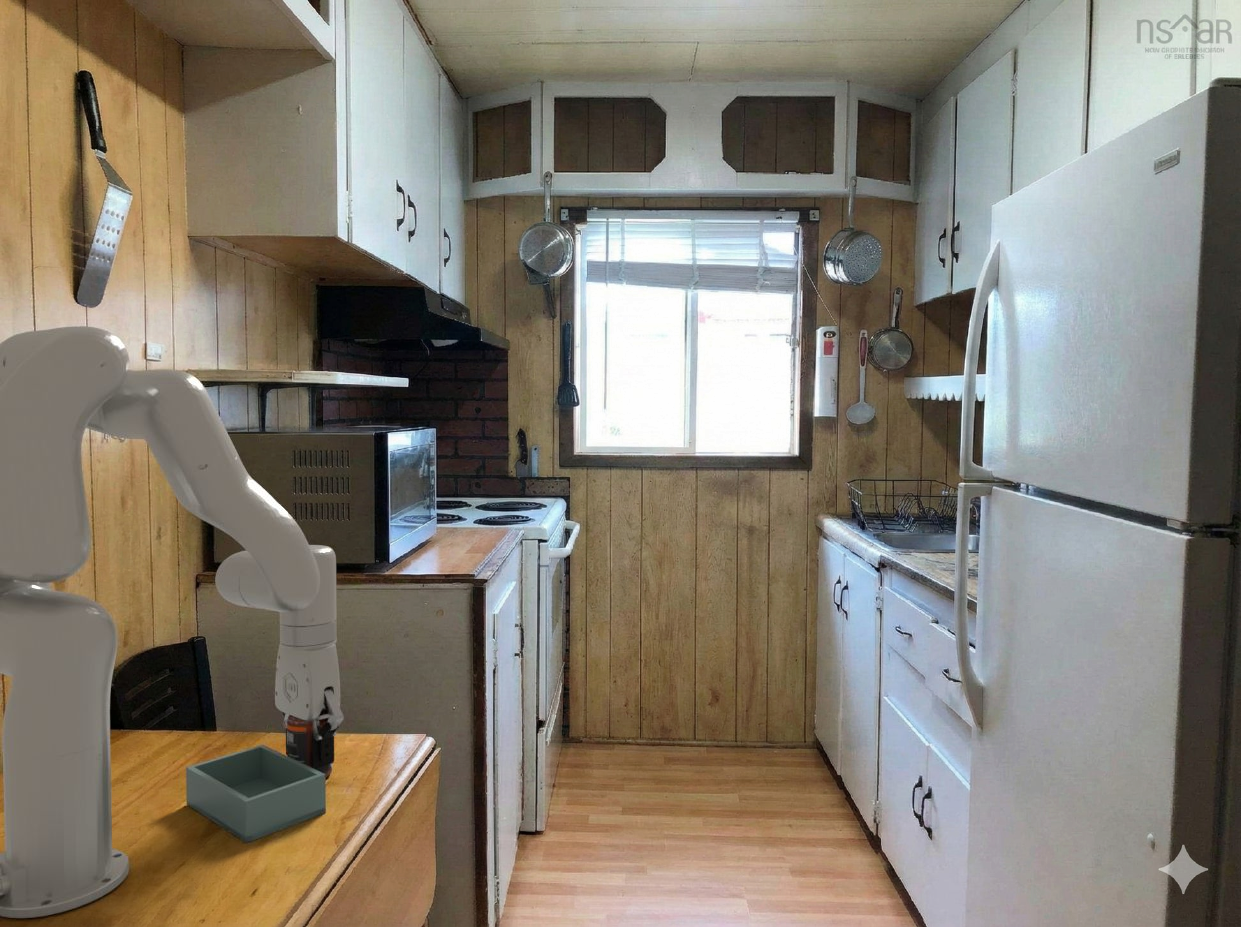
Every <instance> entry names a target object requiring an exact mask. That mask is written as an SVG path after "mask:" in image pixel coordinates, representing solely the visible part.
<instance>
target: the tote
mask: <svg viewBox="0 0 1241 927" xmlns="http://www.w3.org/2000/svg"><path fill="white" fill-rule="evenodd" d="M185 775H186V776H185V777H186V778H185V779H186V781H185V782H186V786H185V787H186V790H185V791H186V806H188V807H189V806H190V809H192V808H193V809H192V810H193V811H195V810H196V811H195V812H199V813H198V814H201V815H202V816H203V817H205V818H206V817H207V819H208V820H209V819H210V821H211V822H212V823H214V824H215V825H217V826H219V827H221V828H222V829H224V830H225V831H227V832H228V833H230V834H231V835H233V836H235V837H236V838H237V839H239V840H240V841H242V842H244V843H246V844H249V843H251V842H253V841H255V840H258V839H261V838H265V837H267V836H269V835H272V834H274V833H276V832H279V831H282V830H285V829H288V828H289V827H292V826H295V825H298V824H301V823H303V822H305V821H308V820H311V819H314V818H316V817H319V816H321V815H324V814H326V813H327V812H326V810H327V809H326V808H327V803H326V802H327V800H326V799H327V798H326V797H327V795H326V794H327V793H326V792H327V791H326V786H327V785H326V778H325V774H324V773H322V772H319V771H317V770H315V769H313V768H311V767H309V766H307V765H305V764H303V763H301V762H298V761H296V760H294V759H292V758H290V757H288V756H287V755H286V754H284V753H282V752H279V751H277V750H276V749H273V748H271V747H269V746H267V745H265V744H260V745H256V746H253V747H249V748H247V749H243V750H239V751H236V752H234V753H233V752H232V753H229V754H226V755H223V756H220V757H215V758H213V759H210V760H206V761H203V762H200V763H196V764H193V765H190V766H187V767H185Z"/></svg>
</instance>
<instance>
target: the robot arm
mask: <svg viewBox="0 0 1241 927" xmlns="http://www.w3.org/2000/svg"><path fill="white" fill-rule="evenodd" d="M86 429H88V430H91V431H94V432H97V433H101V434H104V435H108V436H112V437H115V438H120V439H128V440H144V441H145V443H146V445H147V447H148V448H149V450H150V452H151V454H152V455H153V457H154V458H155V460H156V462H157V464H158V466H159V468H160V470H161V471H162V473H163V475H164V477H165V479H166V481H167V482H168V485H169V486H170V488H171V490H172V492H173V494H174V496H175V498H176V499H177V502H179V504H180V505H181V506H182V507H183V508H184V509H186V510H187V511H188V512H190V513H191V514H193V515H194V516H195V517H197V518H199V519H200V520H202V521H204V522H206V523H207V524H210V525H211V526H214V527H215V528H216V529H219V530H221V531H222V532H224V533H226V534H227V535H229V536H230V537H232V539H234V540H235V541H236V542H237V543H239V545H241V546H242V548H244V550H241V551H239V552H236V553H233V554H231V555H230V556H228V557H227V558H226V559H224V560H223V561H222V562H221V563H220V565H219V566H218V569H217V570H216V573H215V581H214V582H215V587H216V590H217V591H218V593H219V595H220V596H221V597H222V598H223V599H224V600H226V601H227V602H229V603H231V604H233V605H237V606H240V607H247V608H252V609H256V610H257V609H259V610H266V611H273V612H274V611H275V612H278V613H279V645H278V650H277V657H276V667H275V668H276V669H275V681H274V682H275V685H274V688H275V689H274V704H275V707H276V708H277V709H278V710H279V711H280V712H282V714H283V717H284V719H283V727H284V728H285V755H286V756H287V719H288V717H289V715H291V716H293V717H296V718H298V719H301V720H303V721H306V722H310V721H311V724H312V729H313V734H314V738H315V739H313V740H311V763H312V768H314V769H317V768H320V767H323V766H326V765H329V764H332V765H333V763H335V736H336V735H337V730H338V729H339V726H340V725H341V723H342V722H343V721H344V718H345V717H344V714H343V711H342V710H341V708H340V707H341V680H340V677H341V676H340V668H339V666H340V665H339V659H338V658H339V657H338V651H337V646H336V643H337V641H338V637H337V632H338V631H337V629H338V627H337V556H336V553H335V551H334V549H333V548H331V547H330V546H327V545H323V544H321V545H320V544H309V542H308V540H307V538H306V536H305V534H304V532H303V531H302V529H301V527H300V526H299V524H298V523H297V521H295V519H294V518H293V516H292V515H291V514H289V512H288V511H287V510H286V509H285V508H284V507H283V506H282V504H280V503H279V502H278V501H277V500H276V499H275V498H274V497H273V496H272V495H271V494H270V493H269V492H268V491H267V490H266V489H265V488H263V487H262V486H261V485H260V484H259V483H258V482H257V481H256V480H255V479H253V478H252V477H251V475H250V474H249V473H248V471H247V469H246V467H245V466H244V464H243V461H242V459H241V457H240V456H239V453H238V451H237V449H236V447H235V445H234V444H233V441H232V440H231V437H230V435H229V434H228V431H227V430H226V429H227V428H226V427H225V425H224V423H223V420H222V419H221V417H220V415H219V413H218V411H217V409H216V407H215V405H214V403H213V401H212V399H211V397H210V395H209V392H207V389H206V387H205V386H204V385H203V383H202V382H201V381H200V380H199V379H198V378H197V377H195V376H194V375H192V374H191V373H188V372H186V371H182V370H177V369H165V368H164V369H163V368H162V369H145V370H143V369H142V370H134V369H133V370H132V369H130V358H129V352H128V350H127V348H126V346H125V344H124V343H123V342H122V340H121V339H120V338H119V337H118V336H116V334H114V333H112V332H110V331H108V330H105V329H102V328H99V327H95V326H83V325H81V326H63V327H54V328H51V329H42V330H41V329H40V330H31V331H25V332H21V333H18V334H14V335H12V336H10V337H7V338H6V339H4V340H3V341H1V342H0V674H1V675H4V676H8V677H10V678H11V685H10V690H9V696H8V698H7V701H6V705H5V709H4V713H3V714H4V715H3V719H2V720H3V721H2V728H1V729H2V732H1V736H2V737H1V747H2V771H3V772H2V778H3V814H4V818H3V819H4V822H3V824H4V851H3V852H0V917H3V918H4V917H5V918H10V919H30V918H32V919H33V918H39V917H47V916H51V915H55V914H60V913H64V912H67V911H70V910H73V909H74V910H75V909H77V908H79V907H82V906H85V905H87V904H89V903H92V902H94V901H96V900H98V899H99V898H100V899H101V898H102V897H103V896H105V895H107V894H109V893H110V892H112V891H113V890H114V889H115V888H117V887H118V886H119V885H120V884H122V882H123V881H125V879H126V877H128V874H129V872H130V860H129V859H130V858H129V857H128V855H127V854H126V853H124V852H123V851H121V850H118V849H117V848H116V849H115V848H113V821H112V820H113V819H112V818H113V817H112V816H113V815H112V773H111V772H112V769H111V768H112V767H111V765H112V764H111V761H112V760H111V714H110V713H111V711H110V710H111V691H112V690H111V688H112V682H113V674H114V669H115V664H116V659H117V653H118V645H119V643H118V642H119V640H118V639H119V637H118V628H117V626H116V622H115V621H114V619H113V617H112V616H111V614H110V612H109V611H108V610H107V609H106V608H105V607H103V605H101V604H100V603H98V602H96V601H95V600H93V599H91V598H89V597H86V596H83V595H79V594H77V593H71V592H65V591H59V590H53V589H52V588H51V583H55V582H56V583H57V582H61V581H63V580H66V579H69V578H71V577H72V576H74V575H76V574H77V573H78V572H79V571H80V570H81V569H82V568H84V566H85V565H86V564H87V562H88V559H89V557H90V554H91V550H92V533H91V525H90V519H89V511H88V503H87V496H86V488H85V481H84V472H83V463H82V462H83V461H82V444H83V438H84V433H85V431H86ZM323 710H324V712H325V713H326V714H324V715H321V716H319V715H320V712H321V711H323ZM323 719H326V723H324V725H323V726H322V727H321V728H320V724H319V721H320V720H323Z"/></svg>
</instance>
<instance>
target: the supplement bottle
mask: <svg viewBox="0 0 1241 927" xmlns="http://www.w3.org/2000/svg"><path fill="white" fill-rule="evenodd" d="M324 714H326V713H325V712H324V710H323V711H321V712H320V715H319V716H321V715H324ZM324 723H326V719H323V720H320V721H319V724H320V728H321V727H322V726H323V725H324ZM286 729H287V755H286V756H288V757H290V758H292V759H294V760H296V761H298V762H301V763H303V764H305V765H307V766H309V767H311V768H312V763H311V740H313V739H315V738H314V734H313V729H312V724H311V721H310V722H306V721H303V720H301V719H298V718H296V717H293V716H291V715H289V717H288V719H287V728H286ZM313 769H314V768H313ZM315 770H317V771H319V772H322V773H324V774H325V779H326V778H327V777H329V776H330V775H331V774H332V771H333V763H332V764H329V765H326V766H323V767H320V768H317V769H315Z"/></svg>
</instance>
